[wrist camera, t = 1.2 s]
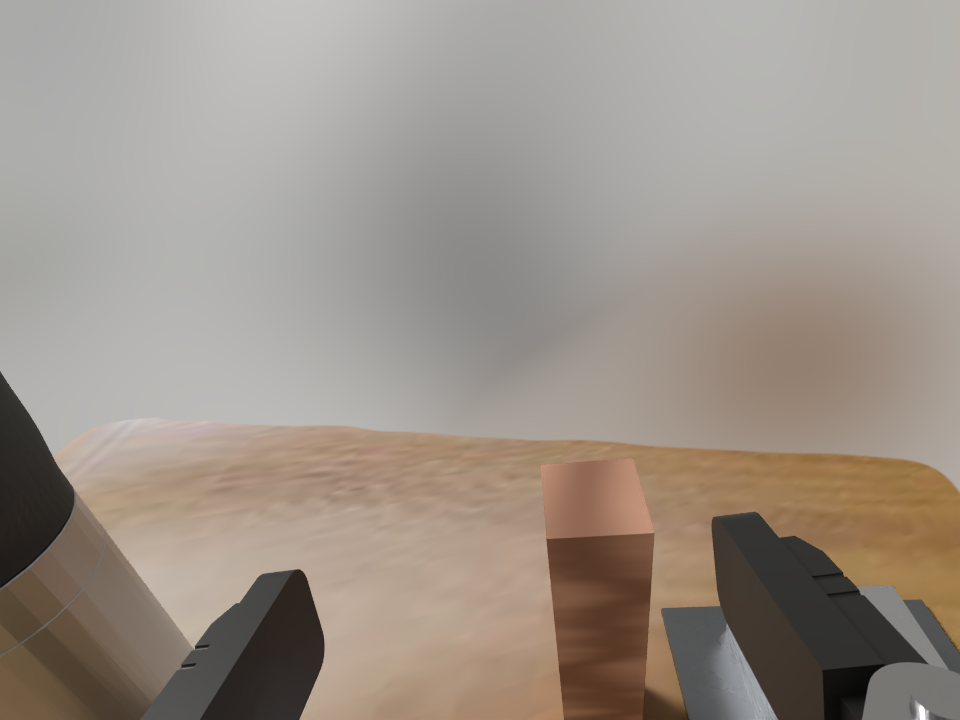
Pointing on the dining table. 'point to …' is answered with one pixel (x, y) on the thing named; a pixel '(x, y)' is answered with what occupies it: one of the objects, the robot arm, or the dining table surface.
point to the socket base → (720, 668)
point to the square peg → (599, 585)
